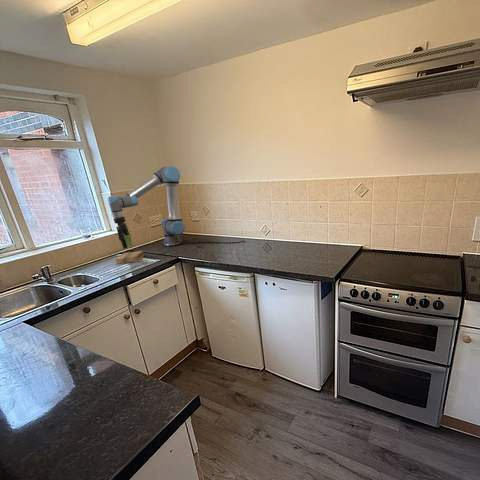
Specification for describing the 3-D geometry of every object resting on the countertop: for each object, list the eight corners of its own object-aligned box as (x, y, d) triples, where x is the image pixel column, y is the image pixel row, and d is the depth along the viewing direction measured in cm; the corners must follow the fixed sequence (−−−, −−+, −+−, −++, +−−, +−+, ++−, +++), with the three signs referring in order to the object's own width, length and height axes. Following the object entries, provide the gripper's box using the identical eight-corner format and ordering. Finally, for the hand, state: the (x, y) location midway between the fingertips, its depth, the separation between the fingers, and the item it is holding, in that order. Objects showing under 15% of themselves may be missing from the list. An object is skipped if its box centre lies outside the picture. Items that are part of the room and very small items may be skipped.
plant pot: (123, 246, 233) (120, 235, 230) (136, 244, 233) (132, 233, 230) (119, 249, 224) (115, 238, 221) (131, 247, 225) (128, 236, 221)
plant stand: (144, 255, 241) (143, 250, 239) (138, 261, 226) (137, 256, 224) (124, 258, 239) (123, 253, 238) (117, 264, 225) (115, 259, 223)
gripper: (118, 215, 230) (127, 243, 238) (107, 220, 210) (117, 251, 219) (128, 214, 230) (136, 242, 239) (118, 219, 211) (127, 249, 219)
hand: (127, 246), depth 229 cm, fingers closed on plant pot, 8 cm apart
